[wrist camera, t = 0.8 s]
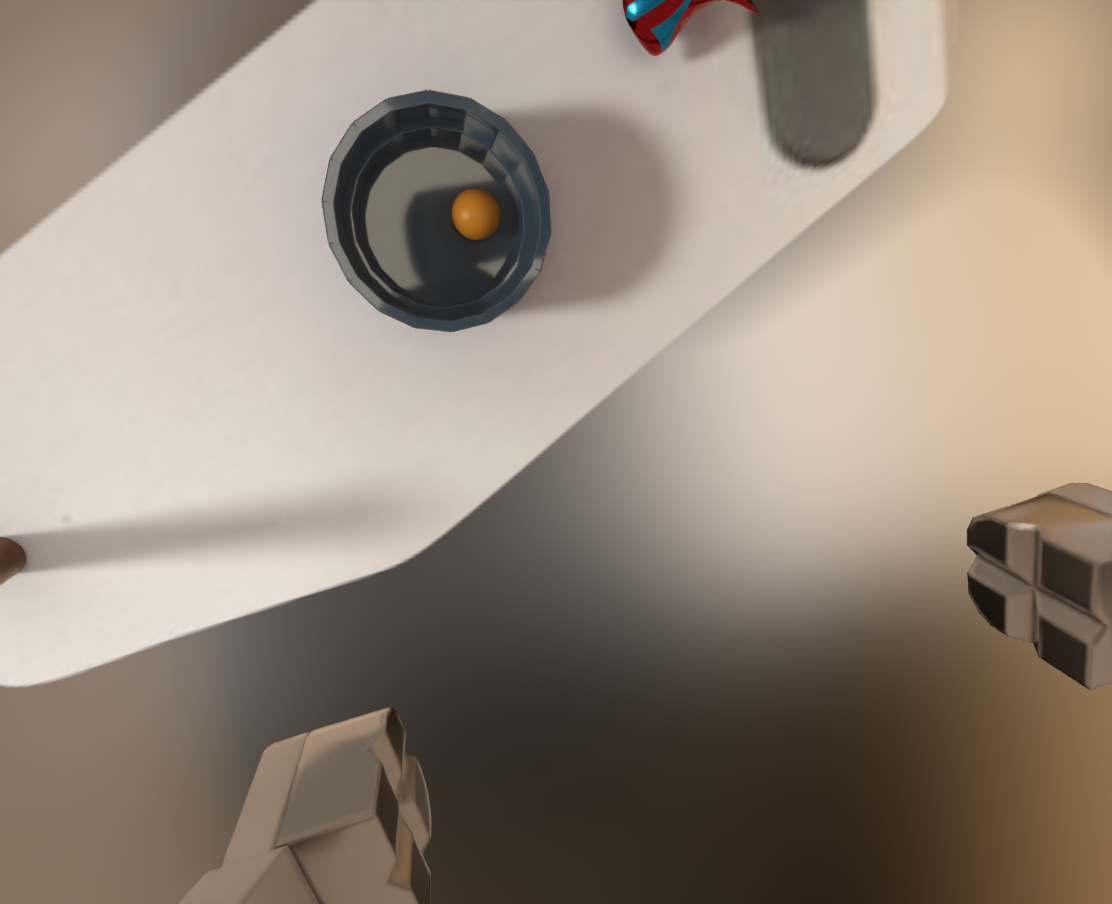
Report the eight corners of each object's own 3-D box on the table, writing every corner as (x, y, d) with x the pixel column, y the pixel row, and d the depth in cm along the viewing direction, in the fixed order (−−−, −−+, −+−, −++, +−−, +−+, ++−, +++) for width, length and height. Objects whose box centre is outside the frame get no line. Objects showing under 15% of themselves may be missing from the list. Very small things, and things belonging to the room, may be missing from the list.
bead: (445, 196, 30) (445, 191, 28) (491, 186, 30) (495, 180, 28) (458, 245, 31) (459, 244, 29) (503, 235, 31) (508, 233, 29)
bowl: (313, 143, 29) (286, 119, 24) (508, 102, 30) (523, 69, 25) (376, 339, 32) (365, 354, 27) (551, 295, 33) (572, 302, 28)
